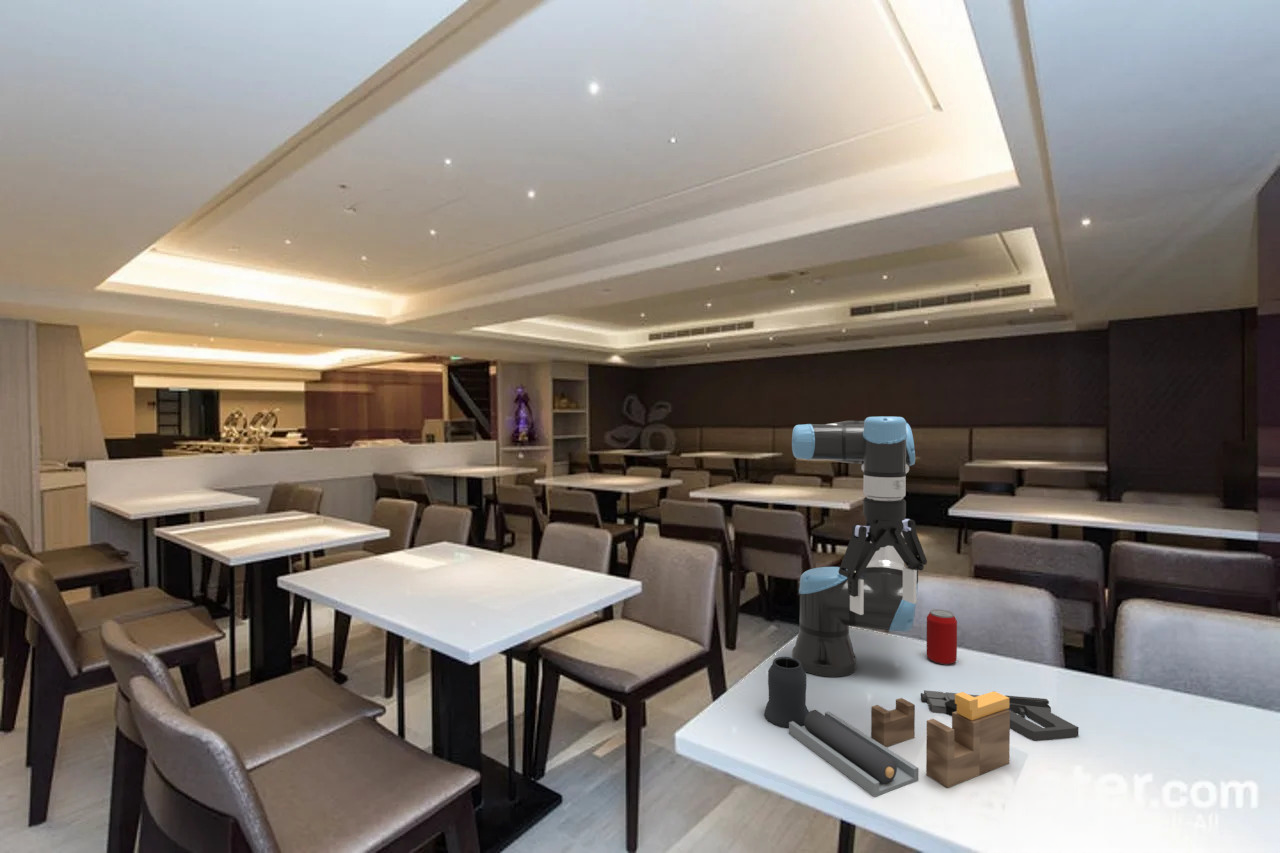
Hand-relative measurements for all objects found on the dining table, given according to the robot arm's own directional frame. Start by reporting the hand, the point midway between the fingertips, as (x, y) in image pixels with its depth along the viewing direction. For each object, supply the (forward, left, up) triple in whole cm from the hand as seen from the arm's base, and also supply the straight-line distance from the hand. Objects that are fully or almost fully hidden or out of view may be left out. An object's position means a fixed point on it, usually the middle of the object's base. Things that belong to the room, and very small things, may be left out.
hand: (883, 606), depth 114 cm
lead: (+4, -12, -24) cm, 27 cm away
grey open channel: (+3, -12, -24) cm, 27 cm away
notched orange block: (+15, +7, -15) cm, 22 cm away
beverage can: (-18, +40, -25) cm, 50 cm away
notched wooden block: (+15, +4, -24) cm, 29 cm away
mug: (-14, -12, -25) cm, 31 cm away
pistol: (+6, +25, -25) cm, 36 cm away
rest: (+3, 0, -24) cm, 24 cm away
